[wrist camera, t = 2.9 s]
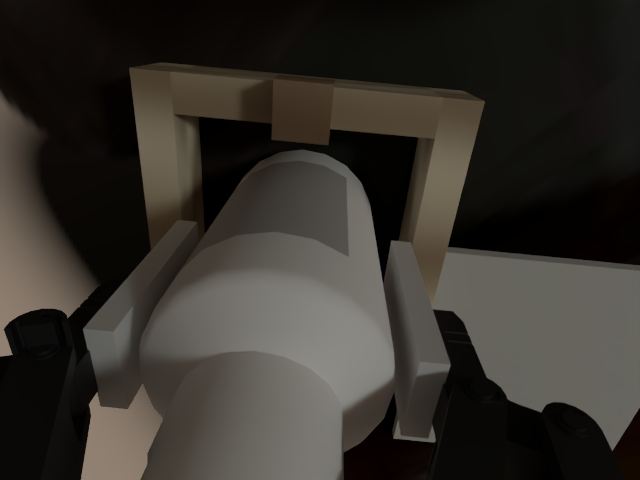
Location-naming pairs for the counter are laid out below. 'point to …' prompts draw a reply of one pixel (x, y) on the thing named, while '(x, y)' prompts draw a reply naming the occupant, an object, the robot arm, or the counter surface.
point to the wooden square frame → (303, 139)
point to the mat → (550, 330)
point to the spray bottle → (272, 332)
